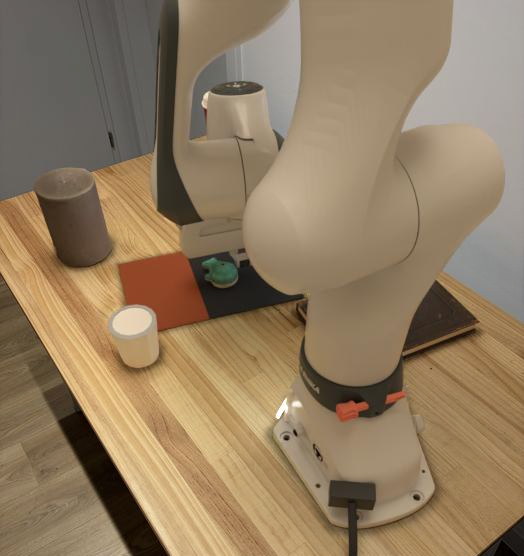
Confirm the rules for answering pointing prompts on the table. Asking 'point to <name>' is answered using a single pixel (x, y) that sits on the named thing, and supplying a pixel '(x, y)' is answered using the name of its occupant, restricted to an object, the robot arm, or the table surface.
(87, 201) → the pillar candle
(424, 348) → the hardcover book
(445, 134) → the robot arm
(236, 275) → the whale figurine
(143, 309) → the jar candle
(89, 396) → the table surface
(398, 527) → the table surface
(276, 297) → the mat
